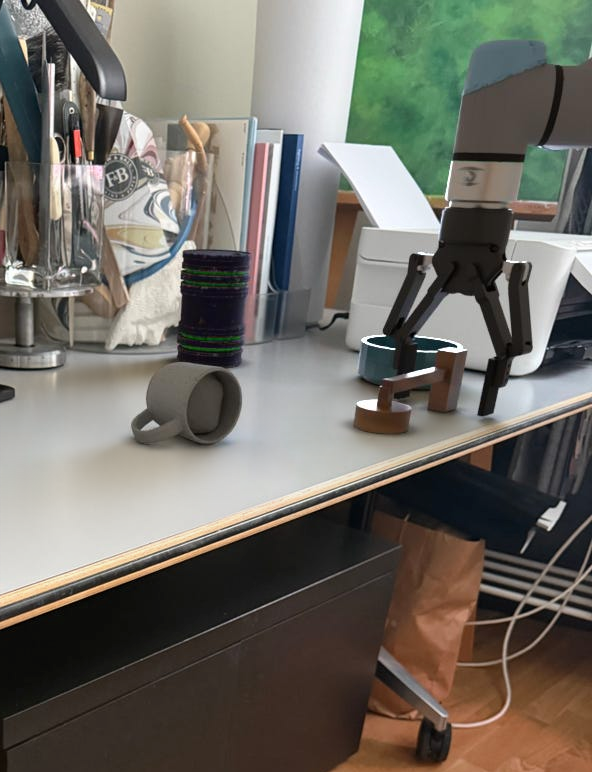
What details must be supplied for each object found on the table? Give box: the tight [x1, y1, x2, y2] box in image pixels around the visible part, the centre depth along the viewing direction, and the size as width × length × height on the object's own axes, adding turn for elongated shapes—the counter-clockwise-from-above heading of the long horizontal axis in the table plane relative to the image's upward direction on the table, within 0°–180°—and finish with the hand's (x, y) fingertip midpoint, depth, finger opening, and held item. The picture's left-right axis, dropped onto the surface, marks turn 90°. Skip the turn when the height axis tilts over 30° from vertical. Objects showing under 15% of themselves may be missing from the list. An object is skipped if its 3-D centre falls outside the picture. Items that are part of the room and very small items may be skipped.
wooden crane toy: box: [353, 347, 469, 435], centre depth 107 cm, size 18×6×7 cm, turn 134°
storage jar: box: [176, 248, 252, 369], centre depth 134 cm, size 10×10×15 cm
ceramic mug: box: [130, 361, 243, 445], centre depth 97 cm, size 11×8×8 cm
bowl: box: [356, 334, 464, 390], centre depth 128 cm, size 13×13×5 cm
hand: (441, 405), depth 114 cm, fingers open, 10 cm apart
